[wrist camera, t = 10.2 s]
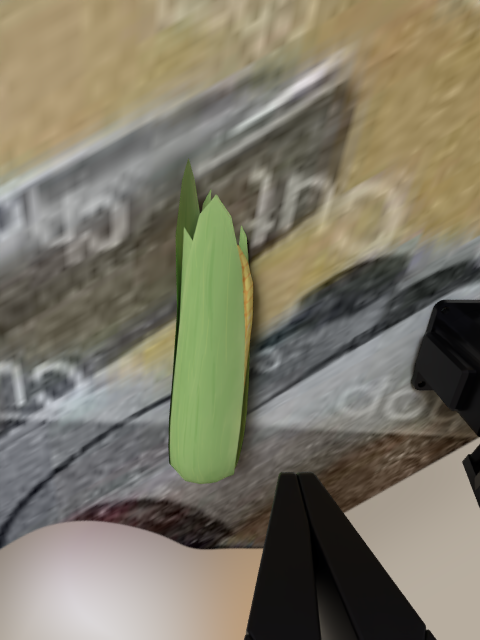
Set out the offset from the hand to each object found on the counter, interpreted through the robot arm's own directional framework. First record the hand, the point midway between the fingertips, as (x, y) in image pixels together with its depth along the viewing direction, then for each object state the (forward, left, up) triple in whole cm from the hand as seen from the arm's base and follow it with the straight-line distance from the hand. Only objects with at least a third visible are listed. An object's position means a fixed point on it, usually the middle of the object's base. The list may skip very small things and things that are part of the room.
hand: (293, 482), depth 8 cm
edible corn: (+3, +3, -13) cm, 14 cm away
